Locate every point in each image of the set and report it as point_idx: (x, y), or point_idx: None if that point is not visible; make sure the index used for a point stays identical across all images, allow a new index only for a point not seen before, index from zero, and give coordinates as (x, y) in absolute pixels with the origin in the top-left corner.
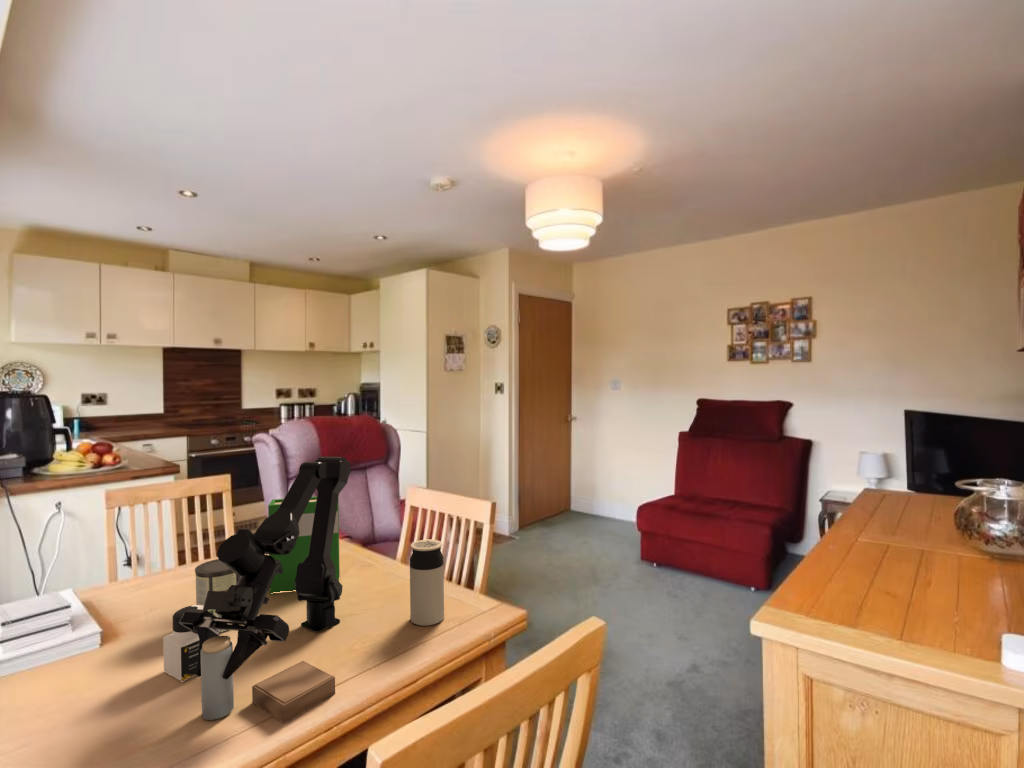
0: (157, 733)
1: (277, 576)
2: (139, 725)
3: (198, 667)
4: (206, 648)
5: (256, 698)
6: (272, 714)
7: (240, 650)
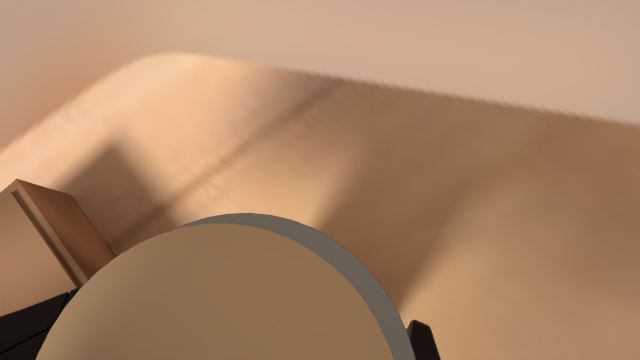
0: (511, 235)
1: None
2: (626, 310)
3: (423, 356)
4: (300, 248)
5: None
6: (108, 249)
7: (1, 320)
